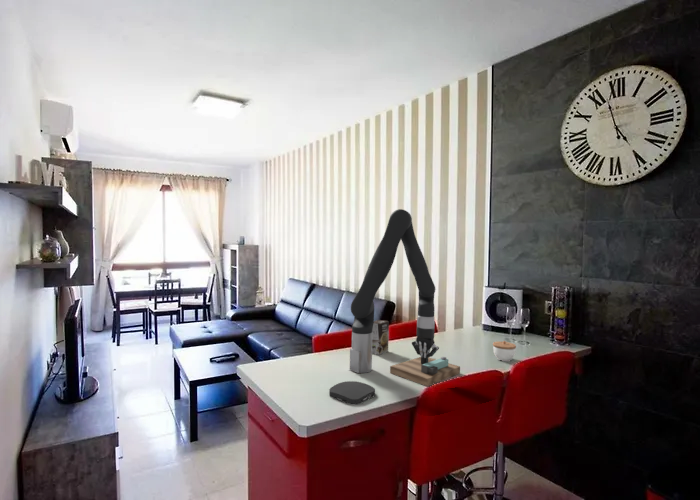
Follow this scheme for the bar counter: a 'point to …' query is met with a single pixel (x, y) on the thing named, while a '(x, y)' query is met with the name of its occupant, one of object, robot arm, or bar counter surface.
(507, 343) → the lidded jar
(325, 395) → the bar counter surface
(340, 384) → the media streaming box
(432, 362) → the folding leg
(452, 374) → the wooden board
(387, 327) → the coffee box
